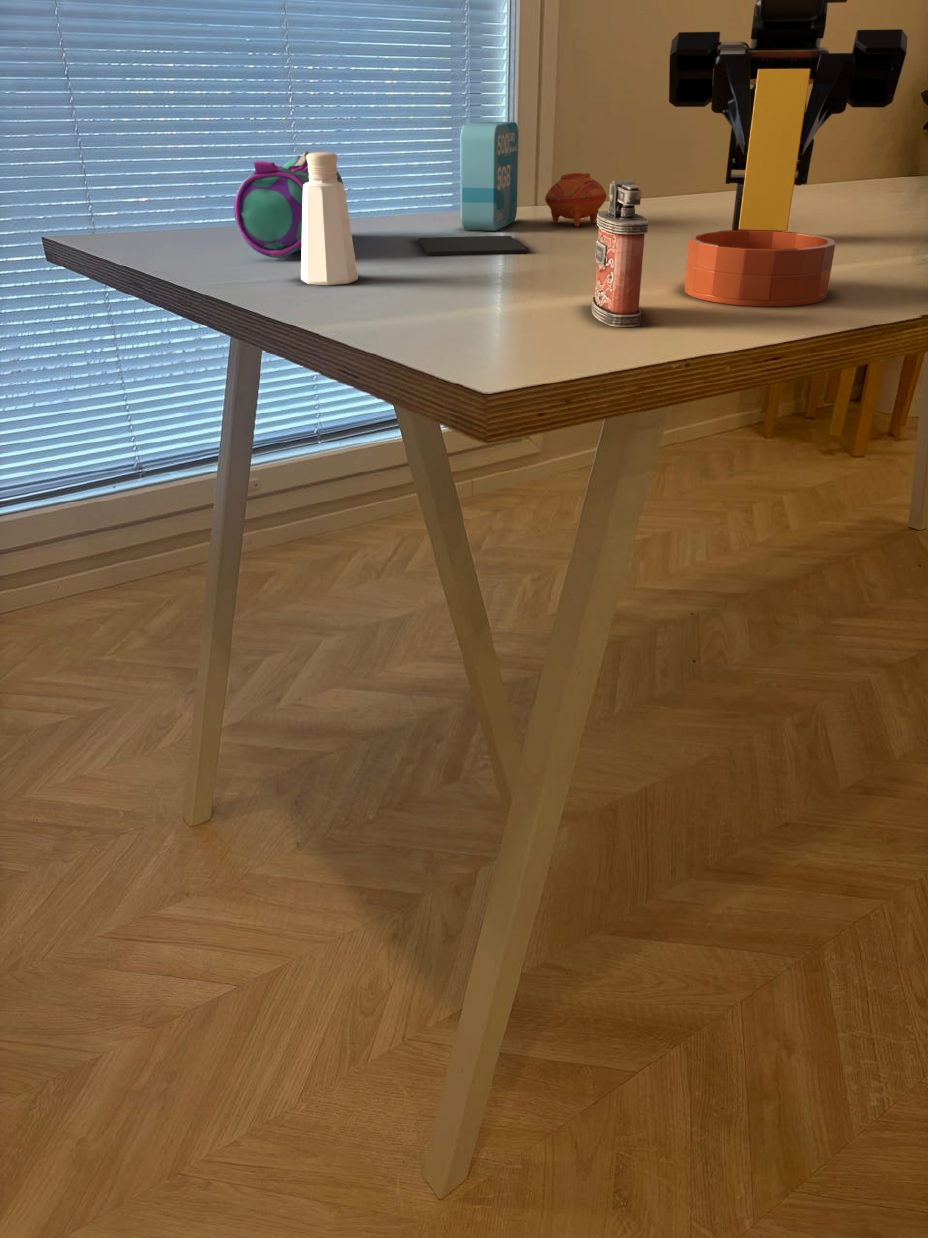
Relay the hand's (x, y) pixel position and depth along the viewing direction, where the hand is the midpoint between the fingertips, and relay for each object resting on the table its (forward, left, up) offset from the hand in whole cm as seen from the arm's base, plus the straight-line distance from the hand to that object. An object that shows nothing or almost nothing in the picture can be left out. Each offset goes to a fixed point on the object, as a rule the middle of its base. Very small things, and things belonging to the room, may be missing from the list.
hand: (772, 150), depth 82 cm
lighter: (+15, -6, -12) cm, 20 cm away
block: (-1, -1, -6) cm, 6 cm away
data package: (-24, -47, -12) cm, 54 cm away
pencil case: (+4, -54, -12) cm, 55 cm away
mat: (-8, -38, -12) cm, 40 cm away
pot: (-32, -39, -12) cm, 52 cm away
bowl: (-1, -1, -12) cm, 12 cm away
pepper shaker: (+17, -36, -12) cm, 41 cm away
